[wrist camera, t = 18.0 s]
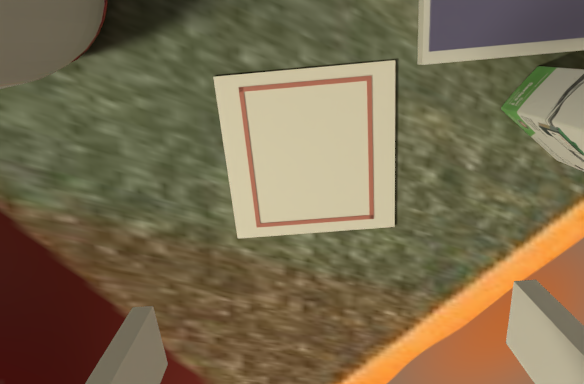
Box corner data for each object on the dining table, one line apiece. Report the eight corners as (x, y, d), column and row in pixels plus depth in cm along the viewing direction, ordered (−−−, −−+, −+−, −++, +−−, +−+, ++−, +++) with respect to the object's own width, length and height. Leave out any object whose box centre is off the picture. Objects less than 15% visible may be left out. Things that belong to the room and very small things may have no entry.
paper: (214, 76, 35) (213, 76, 34) (394, 60, 34) (395, 60, 34) (238, 237, 40) (237, 238, 40) (393, 225, 40) (394, 227, 39)
